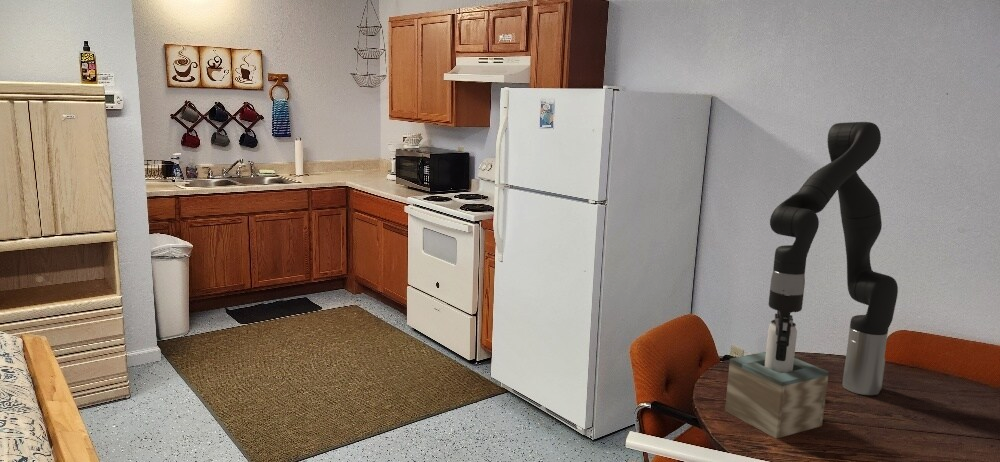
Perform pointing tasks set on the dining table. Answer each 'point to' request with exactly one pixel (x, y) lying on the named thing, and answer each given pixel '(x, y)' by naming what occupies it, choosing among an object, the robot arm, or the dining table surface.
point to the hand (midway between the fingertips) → (779, 355)
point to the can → (771, 347)
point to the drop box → (776, 395)
